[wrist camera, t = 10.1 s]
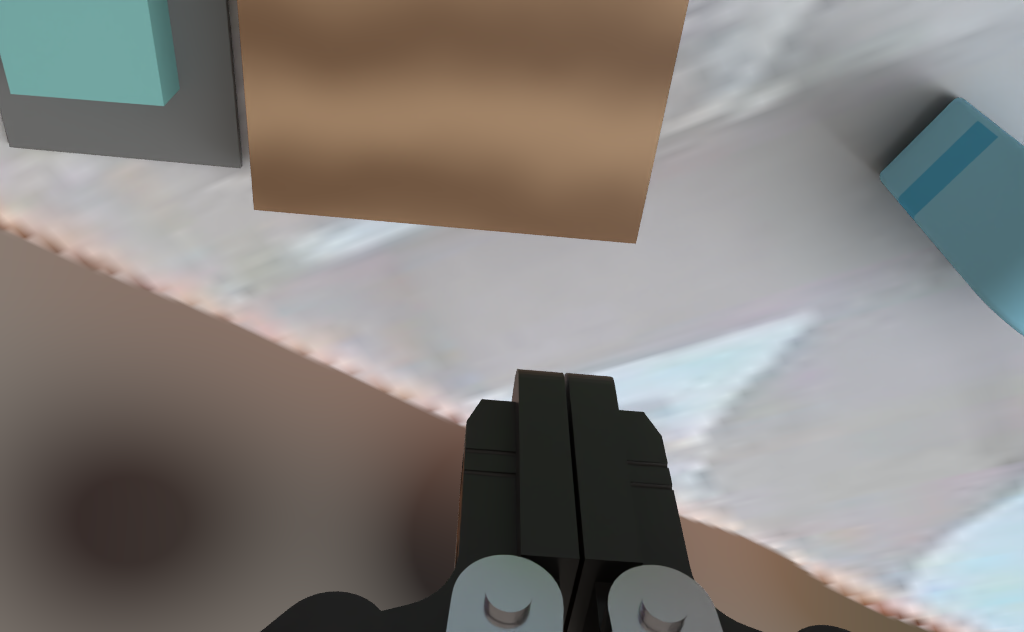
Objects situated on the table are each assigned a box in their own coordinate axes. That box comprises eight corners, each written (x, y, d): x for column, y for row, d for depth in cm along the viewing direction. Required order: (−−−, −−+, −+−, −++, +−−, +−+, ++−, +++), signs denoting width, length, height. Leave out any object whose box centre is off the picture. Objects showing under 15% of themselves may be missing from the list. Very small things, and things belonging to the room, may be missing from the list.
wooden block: (249, -260, 28) (216, -260, 25) (706, -203, 30) (731, -195, 26) (276, 168, 38) (253, 209, 34) (624, 200, 39) (635, 243, 35)
